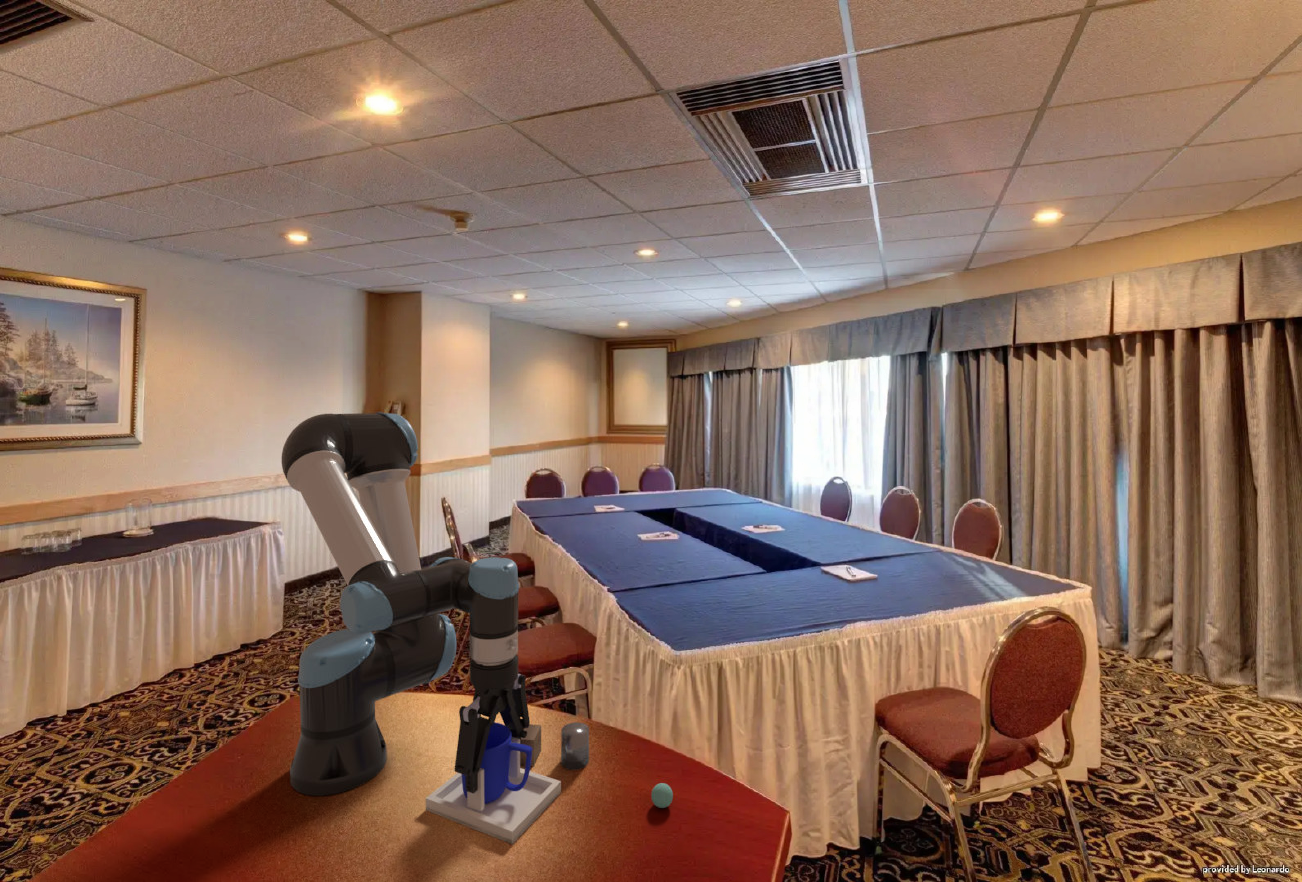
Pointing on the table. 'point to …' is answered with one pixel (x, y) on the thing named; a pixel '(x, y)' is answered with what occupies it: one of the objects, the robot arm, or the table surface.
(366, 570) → the robot arm
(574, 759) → the tin
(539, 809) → the tray
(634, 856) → the table surface
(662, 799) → the ball
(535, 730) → the walnut block
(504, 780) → the mug
